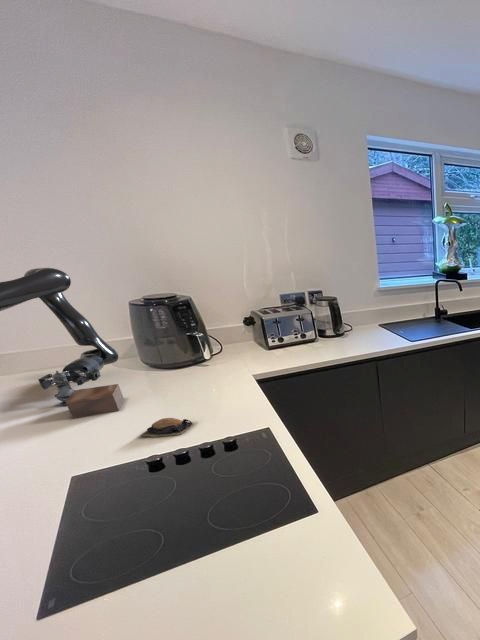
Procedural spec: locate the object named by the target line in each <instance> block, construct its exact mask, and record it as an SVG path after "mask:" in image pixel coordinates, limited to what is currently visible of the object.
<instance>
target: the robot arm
mask: <svg viewBox="0 0 480 640" xmlns="http://www.w3.org/2000/svg"><path fill="white" fill-rule="evenodd" d="M71 285H72V280H71V277H70V276H69V275H68V273H66V272H64V271H63V270H61V269H58V268H54V267H38V268H31V269H29V270H27V271H26V272H25V273H24V275H23V276H21V277H19V278H15V279H11V280H5V281H0V312H3V311H5V310H8V309H10V308H13V307H15V306H18V305H21V304H23V303H26V302H28V301H32V300H35V299H39V300H40V301H42V302H43V304H44V305H45V306H46V307H47V308H48V309H49V310H50V311H51V313H53V314H54V316H55V317H56V318H57V319H58V320H59V322H60V323H61V324H62V326H63V327H64V328H65V329H66V331H67V332H68V334H69V335H70V337H71V338H72V339H73V340H74V342H75V343H76V344H77V346H80V347H87V346H88V347H94V348H92V349H89V350H86V351H83V352H82V353H80V356H79V358H77V359H75V360H73V361H72V362H70V363H68V364H67V365H65V366H64V367H63V369H62V371H61V373H63V374H65V376H66V379H67V381H69V382H70V383H74V384H76V385H77V386H78V387H79V386H83V384H85V383H88V382H90V381H92V382H94V381H97V380H98V379H99V378H100V377H102V376H101V372H100V371H101V370H102V369H103V368H104V366H107V365H111V364H115V363H117V362H118V360H119V354H118V351H116V350H115V348H113V347H112V346H111V345H110V344H108V342H106V341H105V340H104V339H103V338H102V337H101V336H100V335H99V334H98V332H97V330H95V328H94V326H93V325H92V323H90V321H89V320H88V318H86V317H85V316H84V315H83V314H81V313H80V312H79V311H78V310H77V309H76V308H75V307H74V306H73V305H72V304H71V303H70V302H69V300H68V299H67V298H66V296H65V295H64V292H65V291H67V290H69V288H70V287H71ZM37 380H38V382H39V385H40V387H41V389H43V390H48V389H49V388H50V387H52V386H56V385H55V384H56V383H55V381H54V378H53V374H52V373H47V374H46V375H44V376H42V377H40V378H38V379H37Z"/></svg>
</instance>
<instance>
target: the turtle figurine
mask: <svg viewBox="0 0 480 640" xmlns="http://www.w3.org/2000/svg"><path fill="white" fill-rule="evenodd" d="M193 425H194V422H192V421H191V420H189V419H188V418H187V419H186V418H184V419H179V418H175V417H164V418H160V419H159V420H156V421H155V422H153V423H152V424H151V426H149V427H147V429H146V430H145V431H144V432H143V433H142V434H141V437H146V438H147V437H148V438H149V437H150V438H151V437H169V436H180V435H182V434H184V433H186V432H187V431H188V429H191V427H192V426H193Z"/></svg>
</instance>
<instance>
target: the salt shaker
mask: <svg viewBox="0 0 480 640" xmlns="http://www.w3.org/2000/svg"><path fill="white" fill-rule="evenodd" d="M52 376H53V378H54V381H55V383H56V384H55V385H54V386H56V388H57V390H58V391H57V393H55V394H54V395H53V397H54V398H55V399H56V400H58V401H59V402H60V403H59V406H60V407H67V404H66V400H67V399H68V398H69V397H70V395H71V394H72V393H73V391H74V390H75V389H72V387H71V385H70V383H71V382H69V381H67V379H66V376H65V374H63V373H62V372H59V371H58V370H55V373H53V374H52Z"/></svg>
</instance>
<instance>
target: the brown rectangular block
mask: <svg viewBox="0 0 480 640" xmlns="http://www.w3.org/2000/svg"><path fill="white" fill-rule="evenodd" d="M73 390H74V391H73V393H72V394H71V395H70V397H69V398H68V399H67V400H66V404H67V406H66V407H67V409H68V411H69V413H70V416H71V418H72V419H74V420H75V419H79V418H85V417H90V416H91V417H92V416H96V415H102V414H108V413H113V412H114V413H115V412H119V411H120V409H121V407H122V404H123V402H124V400H125V398H124V396H123V392H122V390H121V388H120V385H119V383H115V384H107V385H101V386H95V387H88V388H80V389H73Z"/></svg>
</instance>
